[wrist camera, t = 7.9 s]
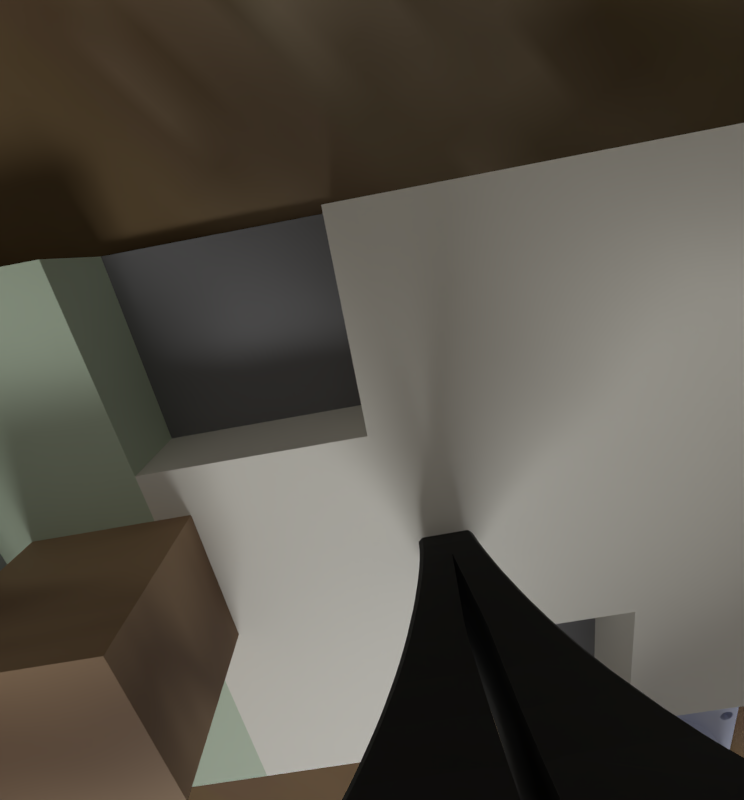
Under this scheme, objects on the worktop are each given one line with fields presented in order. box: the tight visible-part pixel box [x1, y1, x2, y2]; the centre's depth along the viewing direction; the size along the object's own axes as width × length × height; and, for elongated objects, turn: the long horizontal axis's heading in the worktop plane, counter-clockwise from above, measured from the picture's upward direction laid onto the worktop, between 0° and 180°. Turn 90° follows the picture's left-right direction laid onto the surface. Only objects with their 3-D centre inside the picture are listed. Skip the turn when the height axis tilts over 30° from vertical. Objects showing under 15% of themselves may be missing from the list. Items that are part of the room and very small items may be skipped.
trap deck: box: [0, 123, 744, 787], centre depth 12 cm, size 18×30×4 cm, turn 100°
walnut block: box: [0, 515, 239, 800], centre depth 10 cm, size 4×4×4 cm
